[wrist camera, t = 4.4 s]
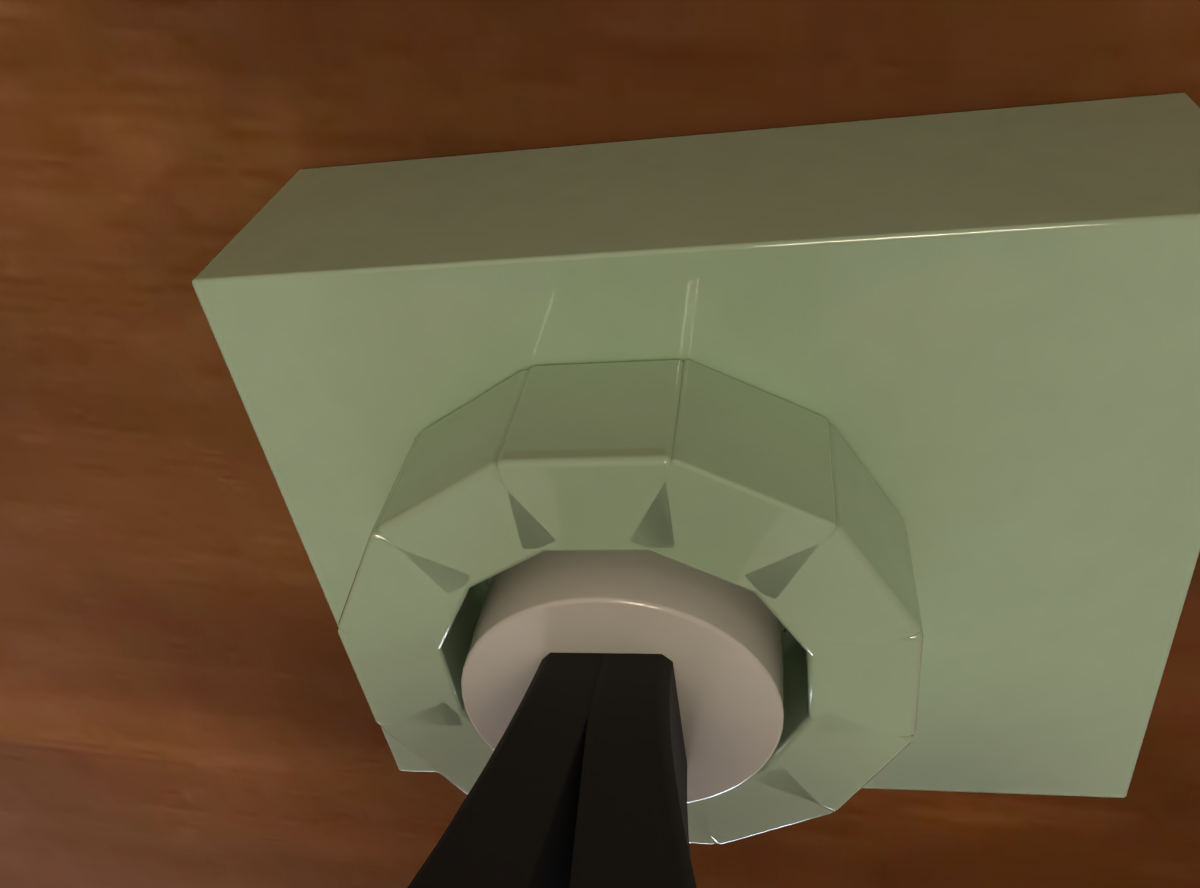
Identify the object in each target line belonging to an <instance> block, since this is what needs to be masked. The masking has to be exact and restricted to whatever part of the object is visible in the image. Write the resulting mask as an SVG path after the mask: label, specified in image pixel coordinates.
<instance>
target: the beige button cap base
mask: <svg viewBox="0 0 1200 888" xmlns="http://www.w3.org/2000/svg"><path fill="white" fill-rule="evenodd" d="M192 285H193V287H194V289H195V292H196V294H197V297H198V299H199V301H200V304H201V306H202V308H203V311H204V313H205V315H206V318H207V320H208V322H209V325H210V327H211V329H212V332H213V334H214V336H215V339H216V341H217V343H218V346H219V348H220V350H221V353H222V355H223V358H224V360H225V362H226V365H227V367H228V369H229V372H230V374H231V376H232V379H233V381H234V383H235V386H236V388H237V390H238V393H239V395H240V397H241V400H242V402H243V404H244V407H245V409H246V412H247V414H248V416H249V419H250V421H251V423H252V426H253V428H254V430H255V433H256V435H257V437H258V440H259V442H260V444H261V447H262V449H263V451H264V454H265V456H266V458H267V461H268V463H269V466H270V468H271V470H272V473H273V475H274V477H275V480H276V482H277V484H278V487H279V489H280V491H281V494H282V496H283V498H284V501H285V503H286V505H287V508H288V510H289V512H290V515H291V517H292V520H293V522H294V524H295V527H296V529H297V531H298V534H299V536H300V538H301V541H302V543H303V545H304V548H305V550H306V552H307V555H308V557H309V559H310V562H311V564H312V566H313V569H314V571H315V574H316V576H317V578H318V581H319V583H320V585H321V588H322V590H323V592H324V595H325V597H326V599H327V602H328V604H329V606H330V609H331V611H332V613H333V616H334V618H335V620H336V623H337V625H338V634H339V636H340V639H341V641H342V643H343V646H344V648H345V650H346V653H347V655H348V657H349V660H350V662H351V664H352V667H353V669H354V671H355V674H356V676H357V678H358V681H359V683H360V685H361V688H362V690H363V692H364V695H365V697H366V699H367V702H368V704H369V706H370V709H371V711H372V713H373V716H374V718H375V720H376V723H378V724H380V726H381V728H382V731H383V733H384V736H385V738H386V740H387V743H388V745H389V747H390V750H391V752H392V754H393V757H394V759H395V761H396V764H397V766H398V768H399V770H401V771H417V772H438V773H440V774H441V775H442V776H443V777H445V778H446V779H447V780H448V781H450V782H451V783H452V784H454V785H455V786H456V787H457V788H459V789H460V790H461V791H462V792H464V793H465V794H466V795H468V794H469V792H470V790H471V789H472V787H473V786H474V784H475V782H476V781H477V779H478V777H479V776H480V774H481V772H482V771H483V769H484V767H485V766H486V764H487V762H488V761H489V759H490V757H491V755H492V754H493V752H494V751H493V750H492V749H491V748H490V747H489V746H488V745H487V743H486V742H485V741H484V740H483V739H482V738H481V736H480V735H479V734H478V732H477V731H476V729H475V728H474V726H473V724H472V723H471V721H470V719H469V716H468V714H467V712H466V709H465V706H464V701H463V697H462V689H461V677H462V671H463V666H464V663H465V659H466V656H467V653H468V650H469V647H470V643H471V640H472V637H473V634H474V631H475V627H476V624H477V621H478V618H479V615H480V611H481V608H482V605H483V602H484V598H485V595H486V592H487V589H488V586H489V582H490V579H491V577H493V576H495V575H497V574H499V573H501V572H503V571H505V570H507V569H509V568H511V567H513V566H515V565H517V564H519V563H521V562H523V561H525V560H527V559H529V558H531V557H533V556H535V555H537V554H539V553H541V552H543V551H645V550H649V551H652V552H654V553H657V554H659V555H662V556H664V557H667V558H669V559H672V560H674V561H677V562H679V563H682V564H684V565H687V566H690V567H692V568H695V569H697V570H700V571H702V572H705V573H707V574H710V575H712V576H715V577H717V578H720V579H722V580H725V581H728V582H730V583H733V584H735V585H738V586H740V587H743V588H745V589H748V590H750V591H753V592H754V593H755V594H756V595H757V596H758V597H759V598H760V599H761V600H762V602H763V603H764V604H765V605H766V606H767V607H768V608H769V610H770V611H771V612H772V613H773V614H774V615H775V616H776V617H777V619H778V620H779V621H780V622H781V623H782V624H783V659H784V726H783V731H782V734H781V738H780V741H779V743H778V745H777V747H776V749H775V751H774V753H773V755H772V756H771V757H770V759H769V760H768V761H767V763H766V764H765V765H764V766H763V767H762V768H761V769H760V770H759V771H758V772H757V773H756V774H755V775H753V776H752V777H751V778H749V779H748V780H746V781H745V782H743V783H742V784H740V785H738V786H736V787H734V788H732V789H730V790H728V791H726V792H724V793H721V794H719V795H716V796H713V797H710V798H707V799H703V800H699V801H695V802H690V803H687V810H688V832H689V843H692V844H715V843H718V844H725V843H729V842H733V841H736V840H740V839H743V838H747V837H750V836H754V835H757V834H761V833H765V832H768V831H772V830H775V829H779V828H782V827H786V826H789V825H793V824H797V823H800V822H804V821H807V820H811V819H814V818H818V817H821V816H825V815H829V814H831V813H832V812H833V811H834V810H839V809H840V808H841V807H842V806H843V805H844V804H845V803H846V802H847V801H848V800H849V799H850V798H851V797H853V796H854V795H855V794H856V793H857V792H858V791H859V790H860V789H861V788H872V789H899V790H926V791H952V792H979V793H1006V794H1033V795H1059V796H1086V797H1113V798H1124V797H1126V794H1127V791H1128V788H1129V784H1130V781H1131V778H1132V774H1133V771H1134V768H1135V764H1136V761H1137V758H1138V754H1139V751H1140V748H1141V744H1142V741H1143V738H1144V735H1145V731H1146V728H1147V725H1148V721H1149V718H1150V715H1151V711H1152V708H1153V705H1154V701H1155V698H1156V695H1157V691H1158V688H1159V685H1160V681H1161V678H1162V675H1163V671H1164V668H1165V665H1166V661H1167V658H1168V655H1169V651H1170V648H1171V645H1172V641H1173V638H1174V635H1175V631H1176V628H1177V625H1178V621H1179V618H1180V615H1181V611H1182V608H1183V605H1184V601H1185V598H1186V595H1187V592H1188V588H1189V585H1190V582H1191V578H1192V575H1193V572H1194V568H1195V565H1196V562H1197V558H1198V555H1199V552H1200V106H1199V105H1198V104H1197V103H1196V102H1195V101H1194V100H1193V99H1192V98H1191V97H1190V96H1189V95H1187V94H1186V93H1175V94H1164V95H1152V96H1141V97H1129V98H1117V99H1106V100H1094V101H1083V102H1071V103H1060V104H1048V105H1037V106H1025V107H1014V108H1002V109H991V110H979V111H968V112H956V113H945V114H933V115H922V116H910V117H899V118H887V119H876V120H864V121H853V122H841V123H830V124H818V125H807V126H795V127H784V128H772V129H761V130H749V131H738V132H726V133H714V134H703V135H691V136H680V137H668V138H657V139H645V140H634V141H622V142H611V143H599V144H588V145H576V146H565V147H553V148H542V149H530V150H519V151H507V152H496V153H484V154H473V155H461V156H450V157H438V158H427V159H415V160H404V161H392V162H381V163H369V164H358V165H346V166H335V167H323V168H311V169H300V170H298V171H297V172H296V173H295V174H294V175H293V176H292V177H291V178H290V179H289V180H288V181H287V182H286V183H285V184H284V185H283V186H282V188H281V189H280V190H279V191H278V192H277V193H276V194H275V195H274V196H273V197H272V198H271V199H270V200H269V201H268V202H267V203H266V204H265V205H264V206H263V207H262V208H261V209H260V210H259V211H258V212H257V213H256V215H255V216H254V217H253V218H252V219H251V220H250V221H249V222H248V223H247V224H246V225H245V226H244V227H243V228H242V229H241V230H240V231H239V232H238V233H237V234H236V235H235V236H234V237H233V238H232V239H231V240H230V242H229V243H228V244H227V245H226V246H225V247H224V248H223V249H222V250H221V251H220V252H219V253H218V254H217V255H216V256H215V257H214V258H213V259H212V260H211V261H210V262H209V263H208V264H207V265H206V266H205V267H204V269H203V270H202V271H201V272H200V273H199V274H198V275H197V276H196V277H195V278H194V279H193V280H192Z"/></svg>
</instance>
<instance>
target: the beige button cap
mask: <svg viewBox="0 0 1200 888" xmlns="http://www.w3.org/2000/svg"><path fill="white" fill-rule="evenodd" d="M550 652H552V653H636V654H663V655H664V656H665V657H667V658H668V659H670V660H671V661H673V667H674V674H675V681H676V688H677V695H678V702H679V710H680V717H681V724H682V731H683V738H684V745H685V752H686V759H687V803H690V802H695V801H699V800H703V799H707V798H710V797H713V796H716V795H719V794H721V793H724V792H726V791H728V790H730V789H732V788H734V787H736V786H738V785H740V784H742V783H743V782H745V781H746V780H748V779H749V778H751V777H752V776H753V775H755V774H756V773H757V772H758V771H759V770H760V769H761V768H762V767H763V766H764V765H765V764H766V763H767V761H768V760H769V759H770V757H771V756H772V755H773V753H774V751H775V749H776V747H777V745H778V743H779V741H780V738H781V734H782V731H783V726H784V659H783V624H782V623H781V622H780V621H779V620H778V619H777V617H776V616H775V615H774V614H773V613H772V612H771V611H770V610H769V608H768V607H767V606H766V605H765V604H764V603H763V602H762V600H761V599H760V598H759V597H758V596H757V595H756V594H755V593H754V592H753V591H750V590H748V589H745V588H743V587H740V586H738V585H735V584H733V583H730V582H728V581H725V580H722V579H720V578H717V577H715V576H712V575H710V574H707V573H705V572H702V571H700V570H697V569H695V568H692V567H690V566H687V565H684V564H682V563H679V562H677V561H674V560H672V559H669V558H667V557H664V556H662V555H659V554H657V553H654V552H652V551H649V550H645V551H543V552H541V553H539V554H537V555H535V556H533V557H531V558H529V559H527V560H525V561H523V562H521V563H519V564H517V565H515V566H513V567H511V568H509V569H507V570H505V571H503V572H501V573H499V574H497V575H495V576H493V577H491V579H490V582H489V586H488V589H487V592H486V595H485V598H484V602H483V605H482V608H481V611H480V615H479V618H478V621H477V624H476V627H475V631H474V634H473V637H472V640H471V643H470V647H469V650H468V653H467V656H466V659H465V663H464V666H463V671H462V677H461V689H462V697H463V701H464V706H465V709H466V712H467V714H468V716H469V719H470V721H471V723H472V724H473V726H474V728H475V729H476V731H477V732H478V734H479V735H480V736H481V738H482V739H483V740H484V741H485V742H486V743H487V745H488V746H489V747H490V748H491V749H492V750H493V751H494V750H495V748H496V746H497V745H498V743H499V741H500V739H501V738H502V736H503V734H504V732H505V731H506V729H507V727H508V725H509V723H510V721H511V720H512V718H513V716H514V714H515V712H516V710H517V708H518V706H519V705H520V703H521V701H522V699H523V697H524V695H525V693H526V691H527V689H528V687H529V685H530V683H531V681H532V679H533V677H534V675H535V673H536V671H537V669H538V667H539V665H540V663H541V661H542V659H543V658H544V657H546V656H547V655H548V654H549V653H550Z"/></svg>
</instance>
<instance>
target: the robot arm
mask: <svg viewBox="0 0 1200 888" xmlns="http://www.w3.org/2000/svg"><path fill="white" fill-rule="evenodd" d="M408 888H696V883H695V879H694V874H693V870H692V865H691V860H690V848H689V832H688V810H687V759H686V752H685V745H684V738H683V731H682V724H681V717H680V710H679V702H678V695H677V688H676V681H675V674H674V667H673V661H671V660H670V659H668V658H667V657H665V656H664V655H663V654H636V653H552V652H550V653H549V654H548V655H547V656H546V657H544V658H543V659H542V661H541V663H540V665H539V667H538V669H537V671H536V673H535V675H534V677H533V679H532V681H531V683H530V685H529V687H528V689H527V691H526V693H525V695H524V697H523V699H522V701H521V703H520V705H519V706H518V708H517V710H516V712H515V714H514V716H513V718H512V720H511V721H510V723H509V725H508V727H507V729H506V731H505V732H504V734H503V736H502V738H501V739H500V741H499V743H498V745H497V746H496V748H495V750H494V752H493V754H492V755H491V757H490V759H489V761H488V762H487V764H486V766H485V767H484V769H483V771H482V772H481V774H480V776H479V777H478V779H477V781H476V782H475V784H474V786H473V787H472V789H471V790H470V792H469V794H468V795H467V797H466V799H465V800H464V802H463V804H462V805H461V807H460V808H459V810H458V812H457V813H456V815H455V817H454V818H453V820H452V822H451V823H450V825H449V826H448V828H447V830H446V831H445V833H444V834H443V836H442V837H441V839H440V840H439V842H438V844H437V845H436V847H435V848H434V849H433V851H432V852H431V854H430V855H429V857H428V858H427V860H426V861H425V863H424V864H423V866H422V867H421V869H420V870H419V871H418V873H417V874H416V876H415V877H414V879H413V880H412V882H411V883H410V885H409V886H408Z"/></svg>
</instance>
